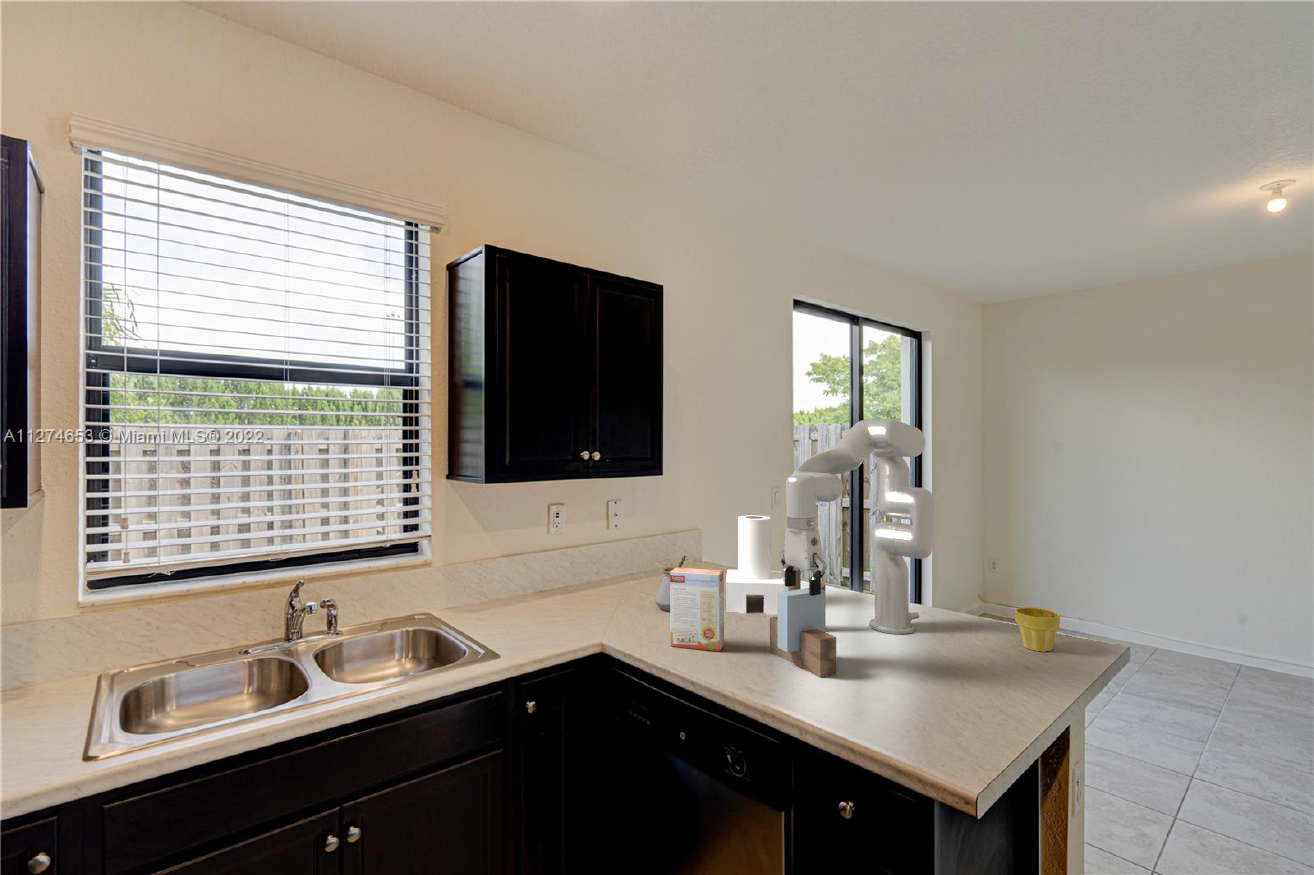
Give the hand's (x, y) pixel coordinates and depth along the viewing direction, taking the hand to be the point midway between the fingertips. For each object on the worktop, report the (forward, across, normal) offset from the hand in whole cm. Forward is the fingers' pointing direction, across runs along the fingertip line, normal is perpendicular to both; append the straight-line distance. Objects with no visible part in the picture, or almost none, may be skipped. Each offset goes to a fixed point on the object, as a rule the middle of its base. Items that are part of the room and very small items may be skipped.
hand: (802, 590), depth 157 cm
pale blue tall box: (+14, 0, +1) cm, 14 cm away
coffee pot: (+19, +61, +5) cm, 64 cm away
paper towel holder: (+19, +48, -18) cm, 55 cm away
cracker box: (+18, +22, +19) cm, 34 cm away
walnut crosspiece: (+18, 0, +1) cm, 18 cm away
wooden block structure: (+19, +20, -17) cm, 32 cm away
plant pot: (+20, -20, -63) cm, 69 cm away
